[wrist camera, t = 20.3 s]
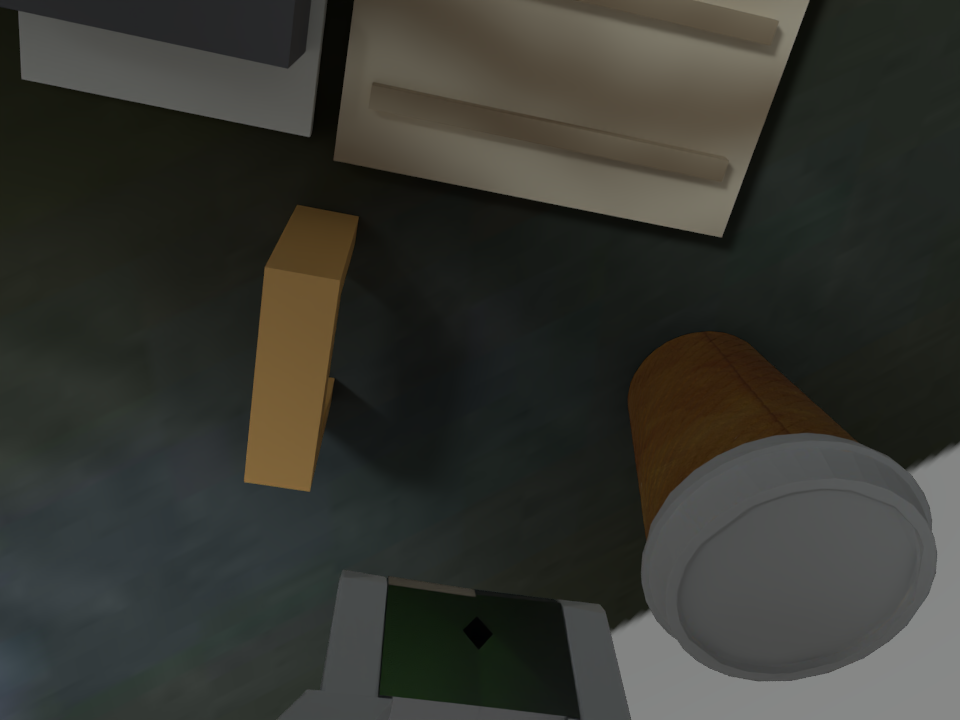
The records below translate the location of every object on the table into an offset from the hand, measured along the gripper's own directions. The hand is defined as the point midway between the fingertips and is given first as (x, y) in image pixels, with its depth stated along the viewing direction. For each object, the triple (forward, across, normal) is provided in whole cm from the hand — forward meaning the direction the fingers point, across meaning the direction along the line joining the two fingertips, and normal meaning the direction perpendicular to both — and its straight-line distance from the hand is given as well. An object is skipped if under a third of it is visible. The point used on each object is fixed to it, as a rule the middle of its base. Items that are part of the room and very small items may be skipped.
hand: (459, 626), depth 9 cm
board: (+24, -4, -4) cm, 25 cm away
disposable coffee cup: (+24, -13, +9) cm, 29 cm away
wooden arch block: (+24, +4, +8) cm, 26 cm away
